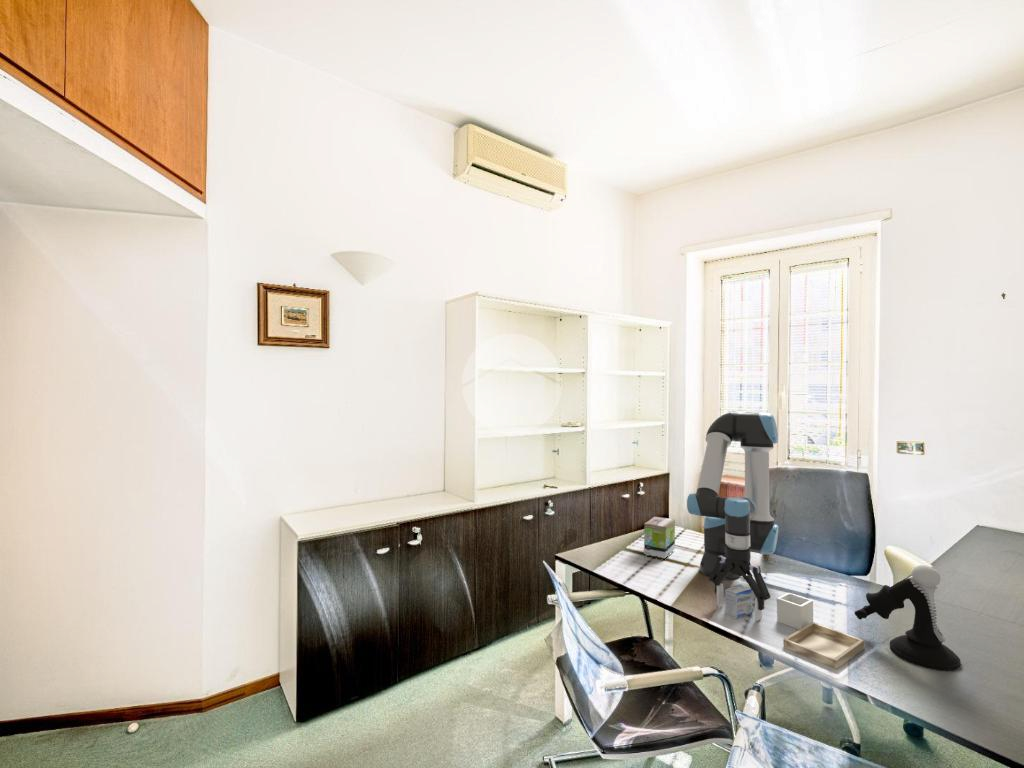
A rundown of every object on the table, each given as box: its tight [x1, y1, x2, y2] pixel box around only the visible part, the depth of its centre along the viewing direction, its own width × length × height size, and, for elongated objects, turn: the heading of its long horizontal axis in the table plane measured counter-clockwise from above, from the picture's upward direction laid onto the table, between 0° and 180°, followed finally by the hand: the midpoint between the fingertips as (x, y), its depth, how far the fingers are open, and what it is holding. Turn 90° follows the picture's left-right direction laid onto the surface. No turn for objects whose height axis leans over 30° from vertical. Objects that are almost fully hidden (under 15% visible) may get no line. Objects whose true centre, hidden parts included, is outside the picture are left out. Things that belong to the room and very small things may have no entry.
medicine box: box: [724, 584, 753, 619], centre depth 161 cm, size 8×4×9 cm, turn 117°
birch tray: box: [783, 621, 865, 670], centre depth 139 cm, size 14×18×3 cm
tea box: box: [643, 516, 676, 559], centre depth 221 cm, size 15×10×15 cm
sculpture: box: [854, 564, 962, 672], centre depth 139 cm, size 15×24×25 cm, turn 41°
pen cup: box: [776, 592, 814, 630], centre depth 154 cm, size 7×7×8 cm
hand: (738, 611), depth 161 cm, fingers open, 12 cm apart
